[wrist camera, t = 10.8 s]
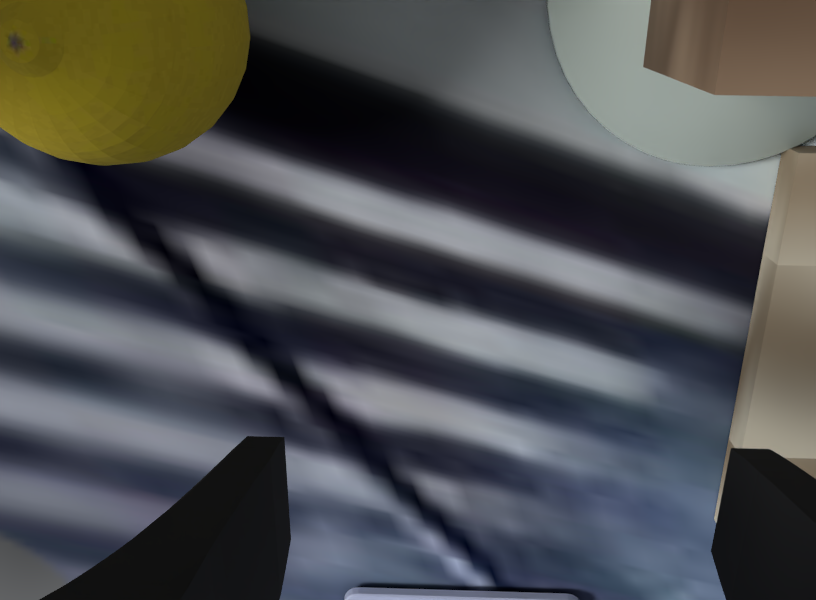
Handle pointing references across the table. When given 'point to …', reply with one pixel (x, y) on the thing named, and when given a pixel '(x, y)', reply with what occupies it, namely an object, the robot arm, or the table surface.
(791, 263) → the pocket block
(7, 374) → the table surface
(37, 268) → the table surface
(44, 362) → the table surface
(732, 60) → the walnut block
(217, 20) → the lemon
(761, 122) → the disc
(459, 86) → the table surface
